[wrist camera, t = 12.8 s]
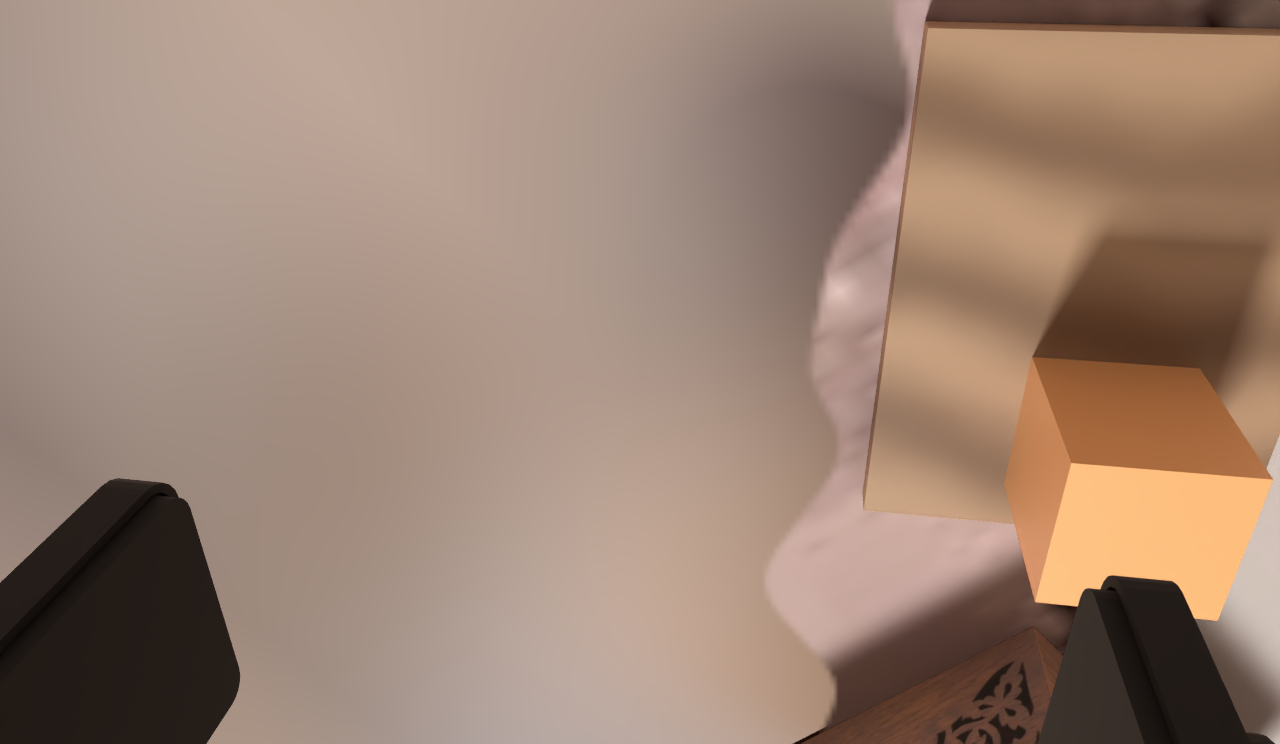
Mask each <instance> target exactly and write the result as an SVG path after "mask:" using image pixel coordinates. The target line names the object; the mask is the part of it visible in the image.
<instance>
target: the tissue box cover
mask: <svg viewBox="0 0 1280 744" xmlns="http://www.w3.org/2000/svg"><path fill="white" fill-rule="evenodd" d="M1062 658H1063V655H1062V654H1061V653H1060V652H1059V651H1058V650H1057V649H1056V648H1055V647H1054V646H1053V645H1052V644H1051V643H1050V642H1049V641H1048V640H1047V639H1046V638H1045V637H1044V636H1043V635H1042V634H1041V633H1040V632H1039V631H1038V630H1037V629H1036V628H1035V627H1034V626H1033V627H1031V628H1029V629H1027V630H1025V631H1023V632H1021V633H1019V634H1017V635H1015V636H1013V637H1011V638H1009V639H1007V640H1005V641H1003V642H1001V643H999V644H997V645H995V646H993V647H991V648H989V649H987V650H985V651H983V652H981V653H979V654H977V655H975V656H973V657H971V658H969V659H967V660H965V661H963V662H961V663H959V664H957V665H955V666H953V667H951V668H949V669H947V670H945V671H943V672H941V673H940V674H938V675H936V676H934V677H932V678H930V679H928V680H926V681H924V682H922V683H920V684H918V685H916V686H914V687H912V688H910V689H908V690H906V691H904V692H902V693H900V694H898V695H896V696H894V697H892V698H890V699H888V700H886V701H884V702H882V703H880V704H878V705H876V706H874V707H872V708H870V709H868V710H866V711H864V712H862V713H860V714H858V715H856V716H854V717H852V718H850V719H848V720H846V721H844V722H842V723H840V724H838V725H836V726H834V727H832V728H830V729H829V730H827V731H825V732H823V730H824V728H822V729H820V730H818V731H816V732H814V733H812V734H811V735H809V736H807V737H805V738H803V739H801V740H799V741H797V742H795V743H793V744H1038V740H1039V737H1040V734H1041V730H1042V727H1043V723H1044V720H1045V716H1046V713H1047V710H1048V706H1049V703H1050V699H1051V696H1052V693H1053V689H1054V686H1055V682H1056V679H1057V675H1058V672H1059V669H1060V665H1061V662H1062ZM822 732H823V733H822Z"/></svg>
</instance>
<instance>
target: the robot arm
mask: <svg viewBox="0 0 1280 744" xmlns="http://www.w3.org/2000/svg"><path fill="white" fill-rule="evenodd" d="M239 683H240V672H239V666H238V663H237V660H236V657H235V653H234V650H233V647H232V643H231V640H230V637H229V633H228V630H227V627H226V624H225V620H224V617H223V614H222V611H221V608H220V604H219V601H218V598H217V594H216V591H215V588H214V585H213V581H212V578H211V575H210V571H209V568H208V565H207V562H206V558H205V555H204V552H203V548H202V546H201V542H200V539H199V536H198V532H197V529H196V526H195V523H194V519H193V516H192V513H191V509H190V507H189V505H188V503H187V502H186V501H185V500H184V499H182V498H179V497H178V495H177V493H176V491H175V490H174V488H172V487H171V486H170V485H169V484H165V483H159V482H149V481H139V480H129V479H119V478H118V479H114V480H110V481H108V482H107V483H106V484H104V485H103V486H101V487H100V488H99V489H98V490H97V491H96V492H95V493H94V494H93V495H92V496H91V497H90V498H89V499H88V500H87V501H86V502H85V503H84V504H82V505H81V506H80V507H79V508H78V509H77V510H76V511H75V512H74V513H73V514H72V515H71V516H70V517H69V518H68V519H67V520H66V521H65V522H64V523H62V524H61V525H60V526H59V527H58V528H57V529H56V530H55V531H54V532H53V533H52V534H51V535H50V536H49V537H48V538H47V539H46V540H45V541H44V542H43V543H41V544H40V545H39V546H38V547H37V548H36V549H35V550H34V551H33V552H32V553H31V554H30V555H29V556H28V557H27V558H26V559H25V560H24V561H23V562H22V563H20V565H18V566H17V567H16V568H15V569H14V570H13V571H12V572H11V573H10V574H9V575H8V576H7V577H6V578H5V579H4V580H3V581H2V582H1V583H0V744H206V743H207V742H208V740H209V739H210V737H211V736H212V734H213V732H214V731H215V730H216V728H217V727H218V725H219V723H220V722H221V721H222V719H223V717H224V716H225V714H226V713H227V711H228V710H229V708H230V707H231V705H232V703H233V701H234V700H235V697H236V695H237V692H238V688H239ZM1038 744H1275V743H1274V742H1272V741H1271V740H1270V739H1269V738H1268V737H1267V736H1265V735H1260V734H1254V733H1246V732H1245V730H1244V728H1243V725H1242V723H1241V721H1240V719H1239V717H1238V714H1237V712H1236V710H1235V708H1234V705H1233V703H1232V701H1231V699H1230V697H1229V694H1228V692H1227V690H1226V688H1225V685H1224V683H1223V681H1222V679H1221V677H1220V674H1219V672H1218V670H1217V668H1216V665H1215V663H1214V661H1213V659H1212V657H1211V654H1210V652H1209V650H1208V648H1207V645H1206V643H1205V641H1204V639H1203V637H1202V634H1201V632H1200V630H1199V628H1198V625H1197V623H1196V621H1195V619H1194V617H1193V614H1192V612H1191V610H1190V608H1189V606H1188V603H1187V601H1186V599H1185V597H1184V594H1183V592H1182V591H1181V589H1180V588H1179V586H1178V585H1177V584H1176V583H1174V582H1173V581H1167V580H1156V579H1146V578H1136V577H1126V576H1115V575H1111V576H1108V577H1107V578H1106V579H1105V580H1104V582H1103V584H1102V586H1101V589H1092V588H1087V589H1085V590H1084V591H1083V592H1082V595H1081V597H1080V600H1079V603H1078V607H1077V610H1076V614H1075V617H1074V621H1073V624H1072V627H1071V631H1070V634H1069V638H1068V641H1067V645H1066V648H1065V651H1064V655H1063V658H1062V662H1061V665H1060V669H1059V672H1058V675H1057V679H1056V682H1055V686H1054V689H1053V693H1052V696H1051V699H1050V703H1049V706H1048V710H1047V713H1046V716H1045V720H1044V723H1043V727H1042V730H1041V734H1040V737H1039V740H1038Z"/></svg>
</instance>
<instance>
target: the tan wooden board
mask: <svg viewBox="0 0 1280 744" xmlns="http://www.w3.org/2000/svg"><path fill="white" fill-rule="evenodd" d="M1032 357H1039V358H1054V359H1069V360H1084V361H1098V362H1113V363H1128V364H1142V365H1157V366H1172V367H1187V368H1200V369H1201V371H1202V372H1203V374H1204V375H1205V377H1206V378H1207V380H1208V381H1209V383H1210V385H1211V386H1212V388H1213V389H1214V391H1215V392H1216V394H1217V395H1218V397H1219V398H1220V400H1221V401H1222V403H1223V404H1224V406H1225V407H1226V409H1227V410H1228V412H1229V413H1230V415H1231V416H1232V418H1233V419H1234V421H1235V423H1236V424H1237V426H1238V427H1239V429H1240V430H1241V432H1242V433H1243V435H1244V436H1245V438H1246V439H1247V441H1248V442H1249V444H1250V445H1251V447H1252V448H1253V450H1254V451H1255V453H1256V454H1257V456H1258V458H1259V459H1260V461H1261V462H1262V464H1263V465H1264V467H1265V468H1267V465H1268V463H1269V460H1270V458H1271V455H1272V452H1273V450H1274V447H1275V445H1276V442H1277V439H1278V437H1279V434H1280V28H1233V27H1185V26H1137V25H1090V24H1042V23H994V22H946V21H925V25H924V33H923V40H922V48H921V55H920V63H919V70H918V78H917V86H916V93H915V101H914V108H913V116H912V124H911V131H910V139H909V146H908V154H907V161H906V169H905V177H904V184H903V192H902V199H901V207H900V215H899V222H898V230H897V237H896V245H895V252H894V260H893V268H892V275H891V283H890V290H889V298H888V306H887V313H886V321H885V328H884V336H883V343H882V351H881V359H880V366H879V374H878V381H877V389H876V397H875V404H874V412H873V419H872V427H871V434H870V442H869V450H868V457H867V465H866V472H865V480H864V487H863V507H864V510H867V511H878V512H889V513H900V514H911V515H922V516H933V517H944V518H955V519H966V520H976V521H987V522H998V523H1009V524H1014V520H1013V516H1012V512H1011V508H1010V505H1009V501H1008V497H1007V493H1006V489H1005V485H1004V481H1005V477H1006V472H1007V468H1008V463H1009V459H1010V454H1011V450H1012V445H1013V441H1014V436H1015V432H1016V427H1017V423H1018V418H1019V413H1020V409H1021V404H1022V400H1023V395H1024V391H1025V386H1026V382H1027V377H1028V373H1029V368H1030V364H1031V359H1032Z"/></svg>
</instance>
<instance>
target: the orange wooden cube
mask: <svg viewBox="0 0 1280 744" xmlns="http://www.w3.org/2000/svg"><path fill="white" fill-rule="evenodd" d="M1272 481H1273V479H1272V477H1271V476H1270V474H1269V473H1268V471H1267V470H1266V468H1265V467H1264V465H1263V464H1262V462H1261V461H1260V459H1259V458H1258V456H1257V454H1256V453H1255V451H1254V450H1253V448H1252V447H1251V445H1250V444H1249V442H1248V441H1247V439H1246V438H1245V436H1244V435H1243V433H1242V432H1241V430H1240V429H1239V427H1238V426H1237V424H1236V423H1235V421H1234V419H1233V418H1232V416H1231V415H1230V413H1229V412H1228V410H1227V409H1226V407H1225V406H1224V404H1223V403H1222V401H1221V400H1220V398H1219V397H1218V395H1217V394H1216V392H1215V391H1214V389H1213V388H1212V386H1211V385H1210V383H1209V381H1208V380H1207V378H1206V377H1205V375H1204V374H1203V372H1202V371H1201V369H1200V368H1187V367H1172V366H1157V365H1142V364H1128V363H1113V362H1098V361H1084V360H1069V359H1054V358H1039V357H1032V359H1031V364H1030V368H1029V373H1028V377H1027V382H1026V386H1025V391H1024V395H1023V400H1022V404H1021V409H1020V413H1019V418H1018V423H1017V427H1016V432H1015V436H1014V441H1013V445H1012V450H1011V454H1010V459H1009V463H1008V468H1007V472H1006V477H1005V481H1004V485H1005V489H1006V493H1007V497H1008V501H1009V505H1010V508H1011V512H1012V516H1013V520H1014V524H1015V527H1016V531H1017V535H1018V539H1019V543H1020V547H1021V550H1022V554H1023V558H1024V562H1025V566H1026V570H1027V573H1028V577H1029V581H1030V585H1031V589H1032V592H1033V596H1034V600H1035V602H1039V603H1049V604H1059V605H1069V606H1078V603H1079V600H1080V597H1081V595H1082V592H1083V591H1084V590H1085V589H1087V588H1092V589H1101V586H1102V584H1103V582H1104V580H1105V579H1106V578H1107V577H1108V576H1111V575H1115V576H1126V577H1136V578H1146V579H1156V580H1167V581H1173V582H1174V583H1176V584H1177V585H1178V586H1179V588H1180V589H1181V591H1182V592H1183V594H1184V597H1185V599H1186V601H1187V603H1188V606H1189V608H1190V610H1191V612H1192V614H1193V617H1194V618H1196V619H1205V620H1215V621H1218V618H1219V616H1220V613H1221V611H1222V608H1223V606H1224V603H1225V601H1226V598H1227V596H1228V593H1229V590H1230V588H1231V585H1232V583H1233V580H1234V578H1235V575H1236V573H1237V570H1238V568H1239V565H1240V563H1241V560H1242V557H1243V555H1244V552H1245V550H1246V547H1247V545H1248V542H1249V540H1250V537H1251V535H1252V532H1253V530H1254V527H1255V524H1256V522H1257V519H1258V517H1259V514H1260V512H1261V509H1262V507H1263V504H1264V502H1265V499H1266V497H1267V494H1268V491H1269V489H1270V486H1271V484H1272Z"/></svg>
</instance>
